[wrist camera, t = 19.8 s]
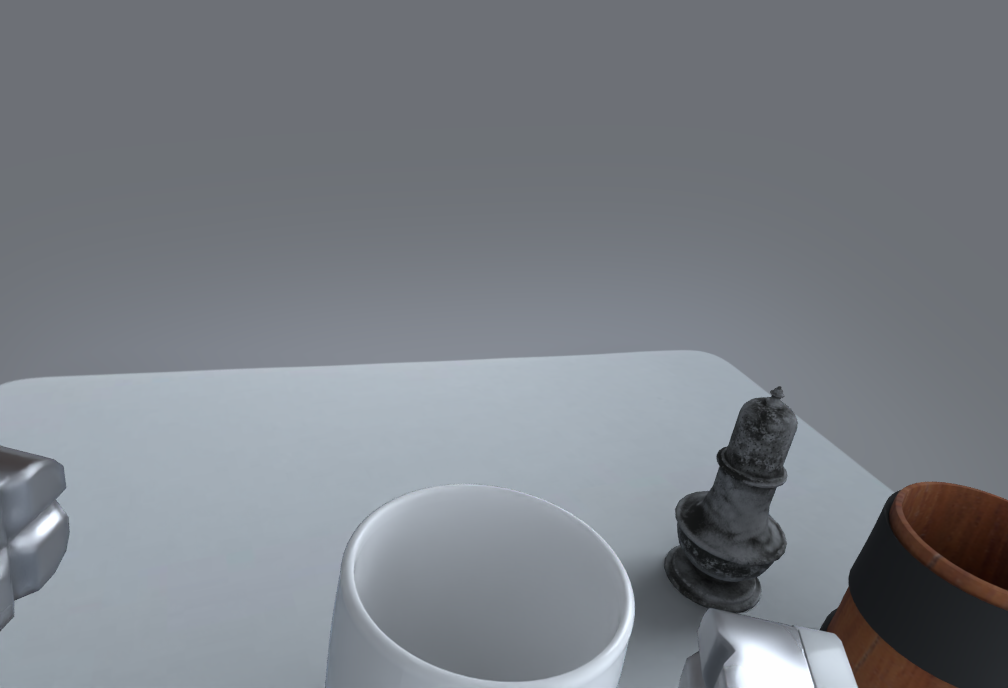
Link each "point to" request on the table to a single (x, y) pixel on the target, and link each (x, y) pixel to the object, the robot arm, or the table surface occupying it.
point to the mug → (930, 592)
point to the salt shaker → (735, 513)
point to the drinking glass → (478, 596)
